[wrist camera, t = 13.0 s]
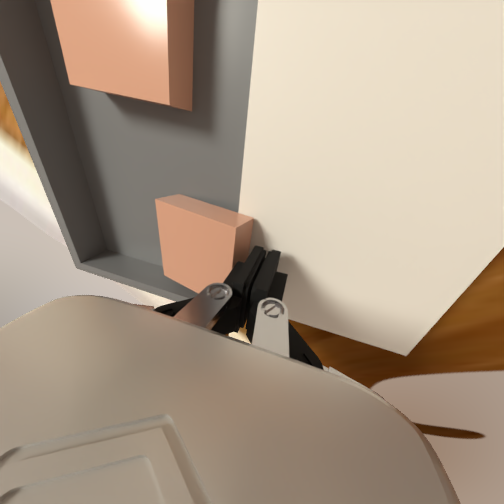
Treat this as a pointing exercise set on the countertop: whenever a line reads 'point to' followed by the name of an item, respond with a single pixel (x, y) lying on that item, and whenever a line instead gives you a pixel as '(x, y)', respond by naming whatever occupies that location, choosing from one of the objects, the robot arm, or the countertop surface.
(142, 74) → the tile
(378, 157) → the plate
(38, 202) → the countertop surface
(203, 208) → the tile
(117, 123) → the tray
